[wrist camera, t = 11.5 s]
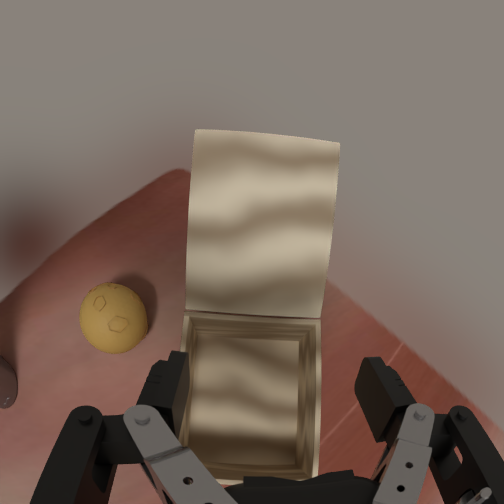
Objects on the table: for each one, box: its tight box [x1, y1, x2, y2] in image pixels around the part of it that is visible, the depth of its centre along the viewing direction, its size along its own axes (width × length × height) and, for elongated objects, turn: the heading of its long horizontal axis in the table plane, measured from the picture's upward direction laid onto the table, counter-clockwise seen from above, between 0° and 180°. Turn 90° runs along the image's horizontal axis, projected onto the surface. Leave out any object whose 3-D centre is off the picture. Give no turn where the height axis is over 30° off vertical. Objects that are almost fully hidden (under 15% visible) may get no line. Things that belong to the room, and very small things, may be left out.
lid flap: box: [186, 129, 340, 318], centre depth 32 cm, size 20×16×1 cm
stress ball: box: [79, 282, 148, 354], centre depth 37 cm, size 10×10×10 cm
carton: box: [178, 311, 321, 485], centre depth 33 cm, size 20×16×10 cm
